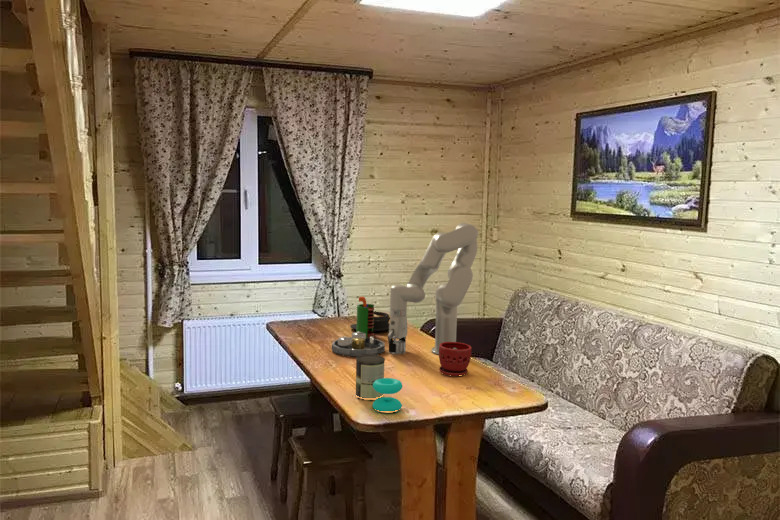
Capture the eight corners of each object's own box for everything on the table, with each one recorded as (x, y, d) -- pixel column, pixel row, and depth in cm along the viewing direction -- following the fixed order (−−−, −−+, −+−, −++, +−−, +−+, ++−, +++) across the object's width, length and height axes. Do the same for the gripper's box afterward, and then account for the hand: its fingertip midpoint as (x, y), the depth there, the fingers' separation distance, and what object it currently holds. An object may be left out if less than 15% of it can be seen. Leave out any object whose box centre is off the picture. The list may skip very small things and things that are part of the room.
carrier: (393, 348, 308) (394, 333, 308) (367, 360, 287) (368, 343, 286) (349, 341, 320) (349, 326, 319) (321, 352, 299) (321, 336, 298)
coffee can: (349, 396, 238) (350, 358, 236) (368, 390, 246) (369, 353, 244) (371, 403, 232) (371, 363, 230) (389, 396, 240) (390, 358, 238)
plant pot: (444, 379, 262) (445, 349, 260) (433, 370, 274) (434, 341, 273) (475, 377, 265) (476, 348, 264) (463, 368, 278) (464, 340, 276)
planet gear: (408, 352, 302) (408, 341, 302) (400, 355, 296) (401, 344, 295) (393, 349, 306) (394, 339, 305) (386, 353, 299) (386, 342, 299)
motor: (373, 339, 325) (374, 299, 323) (355, 338, 326) (356, 298, 323) (374, 334, 335) (375, 295, 333) (356, 334, 336) (357, 295, 333)
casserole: (354, 334, 334) (354, 318, 333) (346, 326, 352) (347, 311, 351) (401, 333, 341) (402, 317, 340) (392, 325, 359) (392, 310, 358)
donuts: (408, 383, 223) (382, 387, 217) (407, 411, 224) (382, 416, 219) (392, 375, 231) (367, 379, 226) (391, 403, 232) (367, 407, 227)
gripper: (396, 316, 289) (395, 355, 291) (414, 310, 304) (412, 347, 306) (381, 314, 293) (380, 352, 295) (399, 308, 308) (398, 344, 310)
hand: (397, 349), depth 301 cm, fingers open, 9 cm apart
